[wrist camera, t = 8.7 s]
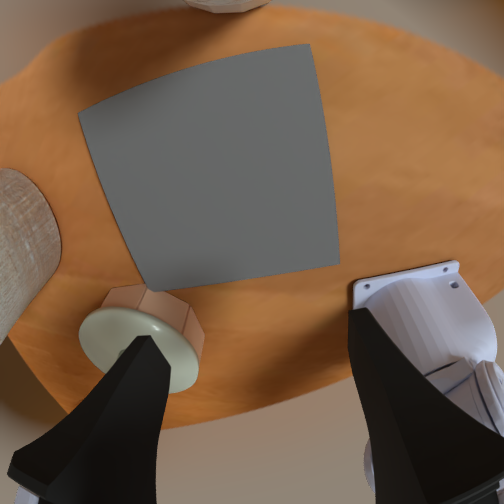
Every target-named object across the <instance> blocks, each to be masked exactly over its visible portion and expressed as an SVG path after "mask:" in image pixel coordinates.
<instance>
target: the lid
mask: <svg viewBox="0 0 504 504" xmlns="http://www.w3.org/2000/svg"><path fill="white" fill-rule="evenodd" d="M141 335H151V337H152V338H153V340H154V342H155V343H156V345H157V346H158V348H159V349H160V351H161V352H162V354H163V355H164V357H165V358H166V360H167V361H168V363H169V364H170V366H171V378H170V388H169V393H176V392H180V391H183V390H185V389H187V388H189V387H191V386H192V385H193V384H194V383H195V381H196V379H197V376H198V371H199V357H198V355H197V352H196V350H195V349H194V347H193V346H192V344H191V343H190V342H189V341H188V340H187V339H186V338H185V336H183V335H182V334H181V333H180V332H179V331H178V330H176V329H175V328H173V327H172V326H171V325H169V324H167V323H166V322H164V321H162V320H160V319H158V318H156V317H154V316H152V315H149V314H147V313H144V312H141V311H138V310H135V309H130V308H125V307H114V306H110V307H102V308H98V309H96V310H94V311H92V312H91V313H89V314H88V315H87V316H86V318H85V320H84V321H83V323H82V325H81V327H80V330H79V340H80V344H81V347H82V349H83V351H84V352H85V354H86V355H87V357H88V358H89V359H90V360H91V362H92V363H93V364H94V365H95V366H96V367H98V368H99V369H100V370H101V371H102V372H104V373H105V374H106V373H107V372H108V371H109V369H110V368H111V367H112V366H113V364H114V363H115V362H116V361H117V359H118V358H119V357H120V356H121V354H122V353H123V352H124V351H125V349H126V348H127V347H128V346H129V345H130V343H131V342H132V341H133V340H134V339H135V338H136V336H141Z"/></svg>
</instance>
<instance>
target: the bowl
mask: <svg viewBox="0 0 504 504" xmlns="http://www.w3.org/2000/svg"><path fill="white" fill-rule="evenodd" d="M110 306H114V307H125V308H130V309H135V310H138V311H141V312H144V313H147V314H149V315H152V316H154V317H156V318H158V319H160V320H162V321H164V322H166V323H167V324H169V325H171V326H172V327H173V328H175V329H176V330H178V331H179V332H180V333H181V334H182V335H183V336H185V338H186V339H187V340H188V341H189V342H190V343H191V344H192V346H193V347H194V349H195V350H196V352H197V355H198V357H199V364H200V359H201V354H202V348H203V343H204V338H205V334H204V332H203V330H202V328H201V326H200V324H199V322H198V320H197V317H196V315H195V313H194V311H193V309H192V307H191V306H189V304H188V303H186V302H184V301H182V300H180V299H178V298H176V297H174V296H172V295H170V294H168V293H166V292H164V291H160V292H153V291H151V290H149V289H148V288H147V286H146V284H138V285H131V286H124V287H117V288H112V289H111V290H110V291H109V293H108V295H107V297H106V298H105V300H104V302H103V303H102V305H101V307H100V308H102V307H110Z"/></svg>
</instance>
